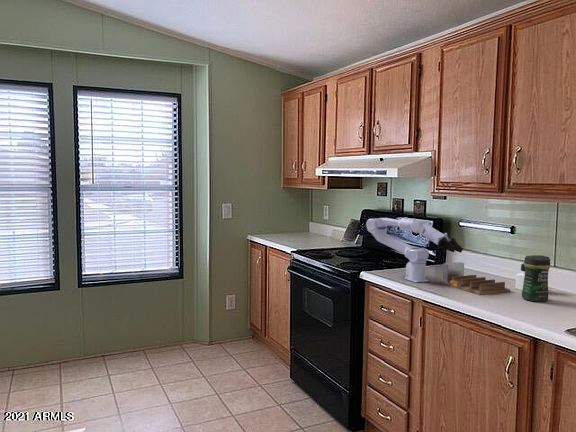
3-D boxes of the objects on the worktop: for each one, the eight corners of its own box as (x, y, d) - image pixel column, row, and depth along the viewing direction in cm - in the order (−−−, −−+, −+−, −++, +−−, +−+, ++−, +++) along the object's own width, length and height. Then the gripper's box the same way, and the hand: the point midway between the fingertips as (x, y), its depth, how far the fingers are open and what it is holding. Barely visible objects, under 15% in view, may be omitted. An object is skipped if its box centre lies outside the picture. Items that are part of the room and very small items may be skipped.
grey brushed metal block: (443, 281, 234) (443, 263, 233) (459, 280, 238) (459, 262, 237) (447, 282, 231) (448, 264, 231) (463, 281, 235) (464, 263, 235)
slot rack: (446, 285, 226) (446, 276, 226) (476, 282, 233) (476, 274, 233) (479, 294, 208) (479, 285, 208) (509, 291, 215) (510, 282, 215)
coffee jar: (531, 302, 195) (534, 257, 194) (518, 298, 203) (520, 254, 202) (552, 301, 198) (554, 256, 196) (538, 297, 205) (540, 253, 204)
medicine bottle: (526, 292, 214) (527, 265, 213) (514, 288, 220) (516, 262, 219) (539, 291, 215) (541, 264, 214) (528, 287, 222) (529, 262, 221)
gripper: (430, 227, 221) (455, 242, 213) (445, 229, 232) (469, 243, 223) (423, 240, 223) (447, 255, 215) (438, 241, 234) (461, 256, 225)
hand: (458, 250), depth 219 cm, fingers open, 7 cm apart
